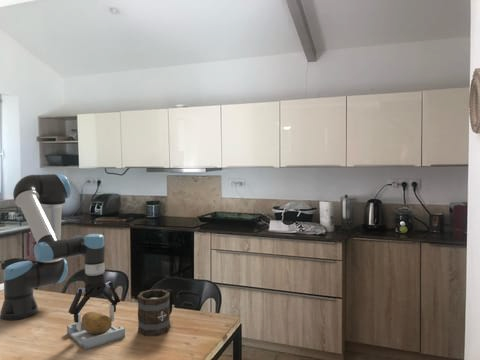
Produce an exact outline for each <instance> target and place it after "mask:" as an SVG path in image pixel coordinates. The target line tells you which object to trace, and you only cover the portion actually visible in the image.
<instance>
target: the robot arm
mask: <svg viewBox="0 0 480 360" xmlns="http://www.w3.org/2000/svg"><path fill="white" fill-rule="evenodd" d="M71 189H72V188H71V183H70V181H69V178H68V177H67V176H66V175H64V174H59V173H57V174H56V173H51V174H49V173H48V174H47V173H46V174H45V173H44V174H29V175H26V176H23V177H22V178H21V179H19V181H17V182H16V184H15V186H14V189H13V192H12V197H13V201H14V203H15V205H16V206H17V207H19V208H20V210H21V212H22V214H23V216H24V218H25V220H26V222H27V225H28V227H29V229H30V232H31V234H32V237H34V240H35V242H36V243H35V244H34V247H33V254H34V258H35V261H36V262H32V261H31V260H24V261H23V260H22V261H18V262H14V263H12V264H11V263H10V265H7V266H6V267H5V268H4V270H3V276H2V277H3V293H4V300H3V302H2V305H1V309H0V319H2V320H4V321H16V320H22V319H26V318H29V317H32V316H34V315H36V314H37V313H38V311H39V309H38V308H39V306H38V303H37V301H36V298H35V296H34V289H37V288H42V287H48V286H51V285H52V286H53V285H56V284H59V283H62V282H64V281H65V280H66V278H67V275H68V272H69V271H68V269H69V268H68V261H67V260H66V259H65V258H67V259H69V258H72V257H78V256H83V257H84V287H76V291H75V292H76V294H75V296H74V298H73V300H72V302H71V305H70V307H69V309H68V314H70V315H73V322H74V323H76V329H77V330H78V331H81V321H82V318H81V317H82V316H81V313H80V312H81V311H82V309H83V308H84V307H85V305H86V304H87V303H88V301H89V300H90V299H91V298H95V297H99V296H101V295H102V296H103V297H104V298H105V299H106V300H107V301H108V302H109V303H110V304H109V306H108V307H109V308H108V309H109V310H108V311H109V318H110V319H111V321H112V323H113V322H115V313H116V311H117V305H118V304H119V303H120V302H121V299H120V297H119V295H118V293H117V292H116V290H115V288H114V285H113V282H112V281H111V280H108V281H107V282H106V278H105V277H106V274H105V269H106V268H105V237H104V235H103V234H100V233H89V234H86V235H75V236H73V237H71V238H63V239H61V236H62V235H61V233H62V214H63V213H62V212H63V211H62V210H63V209H62V208H63V206H64V205H65V204H66V200H67V199H69V198H70V197H71V194H72V190H71ZM106 288H107V289H108V290H109V292H110V293H111V295H112V297H113V298H112V297H111V296H110V295H109V294H108V293H107V292H106V291H105V289H106ZM84 292H85V293H84ZM82 295H83V297H82Z"/></svg>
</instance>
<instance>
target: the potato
mask: <svg viewBox="0 0 480 360" xmlns="http://www.w3.org/2000/svg"><path fill="white" fill-rule="evenodd" d="M81 317H82V318H81V321H82V325H83V327H84V329H85V331H87V332H89V333H91V334H93V335H96V334H103V333H105V332H107V331H108V330H109V329H110V328H111V325H113V324H112V323H113V322H112V321H111V319H110V316H108V315H106V314H103V313H101V312H97V311H87V312H85V313H84V314H83V315H82V316H81Z"/></svg>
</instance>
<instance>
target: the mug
mask: <svg viewBox="0 0 480 360" xmlns="http://www.w3.org/2000/svg"><path fill="white" fill-rule="evenodd" d="M173 295H174V294H173V290H172V289H168V288H167V289H166V290H165V289H148V290H143V291H140V292H139V294H138V295H137V304H138V305H137V321H138V325H137V326H138V328H137V333H138V334H140V335H141V336H143V337H159V336H163V335H164V334H167V333H169V331H170V329H171V322H170V321H171V320H170V318H171V314H172V312H173V311H172V310H173Z"/></svg>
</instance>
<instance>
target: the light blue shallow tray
mask: <svg viewBox="0 0 480 360" xmlns="http://www.w3.org/2000/svg"><path fill="white" fill-rule="evenodd" d="M66 327H67V328H66V332H67V333H66V334H67V335H68V336H69V337H71V339H73V340H74V341H75V342H76V343H77V345H79V346H81V348H82V349H83V350H84V351H86V350H89V349H92V348H96V347H98V346H99V347H100V346H101V345H104V344H108V343H111V342H114V341H118V340H120V339H123V338H126V328H125V327H123V326H122V325H118V327H116V326H114V325H113V324H112V325H111V328H110V329H109V330H108V331H107V332H105V333H103V334H96V335H93V334H91V333H89V332H87V331H85V329H84V327H83V325H82V320H81V331H78V330H77V329H76V323H75V322H74V323H70V324H67V325H66Z"/></svg>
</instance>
